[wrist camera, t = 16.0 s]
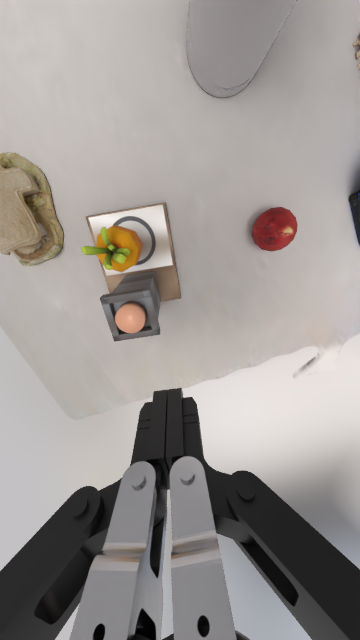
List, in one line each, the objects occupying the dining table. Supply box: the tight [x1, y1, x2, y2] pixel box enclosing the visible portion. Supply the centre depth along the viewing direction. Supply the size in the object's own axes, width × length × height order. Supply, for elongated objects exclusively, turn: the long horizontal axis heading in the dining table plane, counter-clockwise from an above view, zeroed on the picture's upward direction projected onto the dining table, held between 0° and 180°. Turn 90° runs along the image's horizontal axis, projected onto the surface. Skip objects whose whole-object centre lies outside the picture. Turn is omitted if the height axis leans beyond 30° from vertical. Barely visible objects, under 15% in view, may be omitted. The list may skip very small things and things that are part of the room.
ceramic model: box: [0, 153, 63, 266], centre depth 27 cm, size 14×11×10 cm
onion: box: [252, 207, 297, 251], centre depth 30 cm, size 6×6×8 cm
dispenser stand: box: [86, 203, 181, 341], centre depth 29 cm, size 15×12×13 cm
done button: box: [115, 301, 146, 333], centre depth 25 cm, size 3×3×2 cm
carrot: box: [81, 226, 143, 272], centre depth 26 cm, size 5×5×15 cm
